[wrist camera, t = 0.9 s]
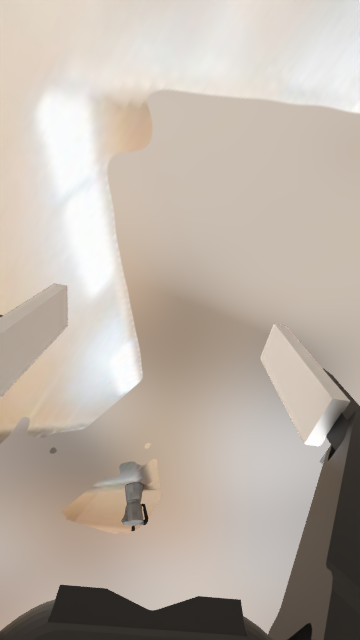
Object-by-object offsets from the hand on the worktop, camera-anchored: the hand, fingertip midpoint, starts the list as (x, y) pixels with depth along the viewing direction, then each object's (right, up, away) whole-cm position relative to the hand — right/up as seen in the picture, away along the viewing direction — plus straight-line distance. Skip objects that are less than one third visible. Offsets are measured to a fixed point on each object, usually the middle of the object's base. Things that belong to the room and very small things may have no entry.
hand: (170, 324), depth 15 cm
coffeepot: (-22, -86, +110) cm, 141 cm away
